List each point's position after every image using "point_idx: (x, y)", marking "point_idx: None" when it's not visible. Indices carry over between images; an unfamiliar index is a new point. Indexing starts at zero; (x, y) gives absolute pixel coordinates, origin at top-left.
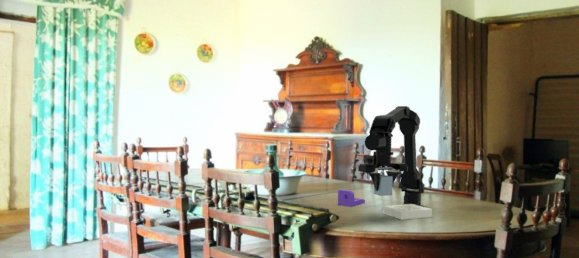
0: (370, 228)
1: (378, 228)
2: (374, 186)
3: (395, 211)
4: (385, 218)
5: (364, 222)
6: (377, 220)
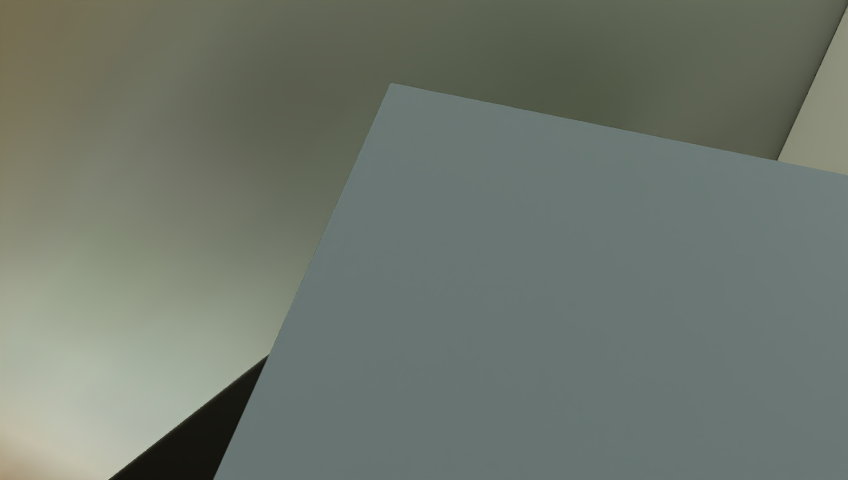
0: (11, 380)
1: (97, 420)
2: (189, 426)
3: None
4: (582, 111)
5: (90, 139)
6: (354, 146)
